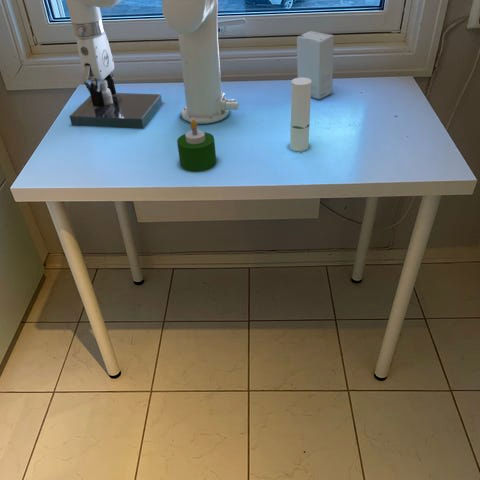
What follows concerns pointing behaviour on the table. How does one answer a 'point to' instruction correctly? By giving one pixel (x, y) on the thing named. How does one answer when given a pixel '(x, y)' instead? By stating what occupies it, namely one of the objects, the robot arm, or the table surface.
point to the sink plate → (118, 111)
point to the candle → (196, 149)
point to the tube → (300, 113)
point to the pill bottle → (105, 92)
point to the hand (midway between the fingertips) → (104, 99)
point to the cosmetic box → (316, 61)
